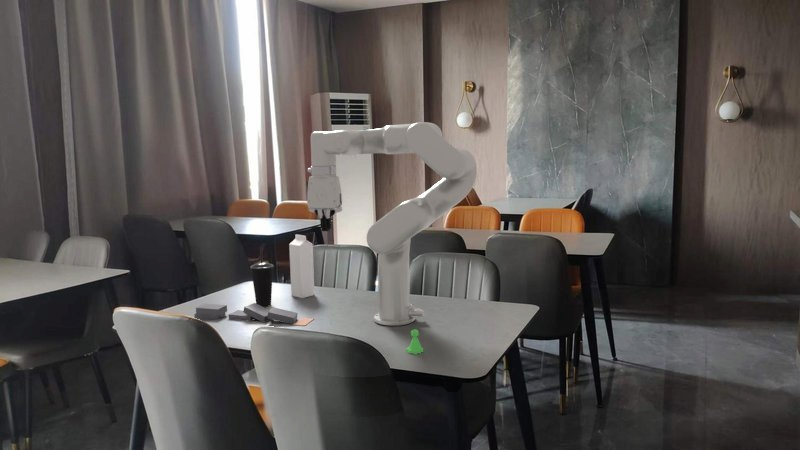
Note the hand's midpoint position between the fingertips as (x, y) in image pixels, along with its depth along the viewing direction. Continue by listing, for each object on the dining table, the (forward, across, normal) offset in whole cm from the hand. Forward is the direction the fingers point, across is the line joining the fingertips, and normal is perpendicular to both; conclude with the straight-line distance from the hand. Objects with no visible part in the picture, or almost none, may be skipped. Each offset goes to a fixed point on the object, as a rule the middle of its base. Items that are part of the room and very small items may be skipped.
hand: (326, 230), depth 188 cm
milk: (+27, -18, +22) cm, 39 cm away
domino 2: (+27, -33, -8) cm, 43 cm away
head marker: (+27, -5, -9) cm, 29 cm away
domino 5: (+26, -8, -9) cm, 29 cm away
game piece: (+27, +34, -28) cm, 52 cm away
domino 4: (+26, -16, -9) cm, 32 cm away
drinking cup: (+27, -26, +7) cm, 38 cm away
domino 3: (+27, -22, -8) cm, 35 cm away
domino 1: (+25, -32, -8) cm, 42 cm away
